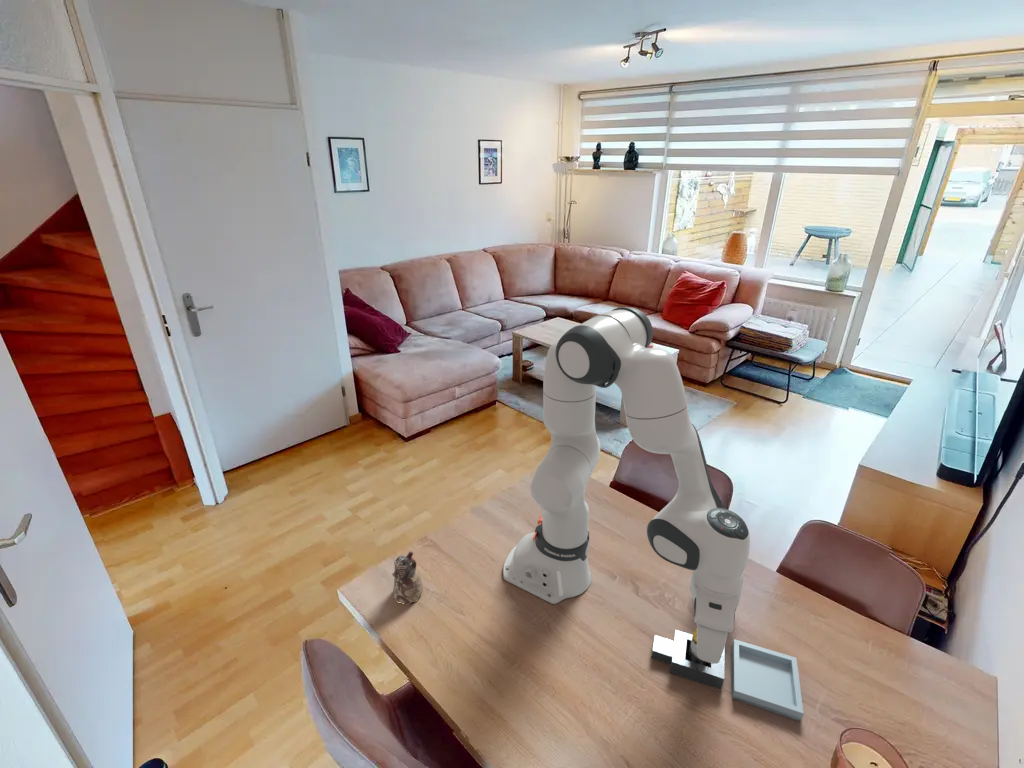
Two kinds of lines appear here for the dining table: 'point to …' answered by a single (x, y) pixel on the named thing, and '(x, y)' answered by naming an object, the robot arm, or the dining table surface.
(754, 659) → the parts tray
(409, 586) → the figurine
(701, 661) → the small capped bottle
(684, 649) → the block
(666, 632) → the dining table surface
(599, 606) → the dining table surface
